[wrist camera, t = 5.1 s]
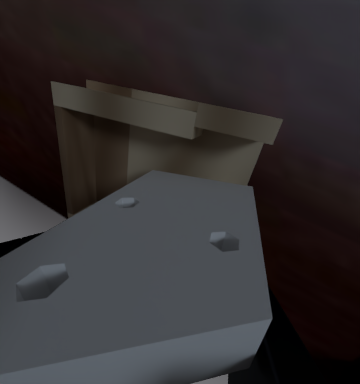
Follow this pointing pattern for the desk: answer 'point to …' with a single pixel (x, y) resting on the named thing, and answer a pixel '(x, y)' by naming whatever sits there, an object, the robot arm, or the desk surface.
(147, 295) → the white wedge bracket
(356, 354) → the desk surface
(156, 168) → the slotted track
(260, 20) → the desk surface
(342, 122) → the desk surface
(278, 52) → the desk surface
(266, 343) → the robot arm
